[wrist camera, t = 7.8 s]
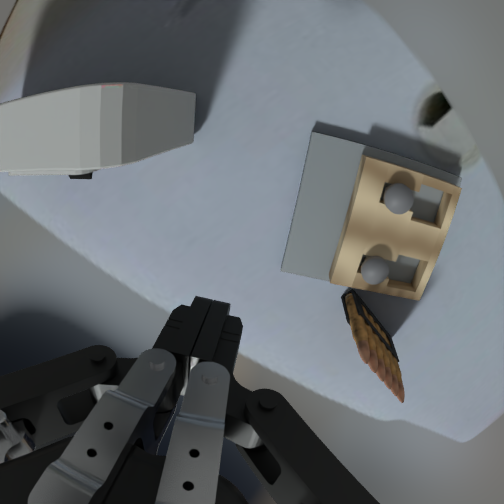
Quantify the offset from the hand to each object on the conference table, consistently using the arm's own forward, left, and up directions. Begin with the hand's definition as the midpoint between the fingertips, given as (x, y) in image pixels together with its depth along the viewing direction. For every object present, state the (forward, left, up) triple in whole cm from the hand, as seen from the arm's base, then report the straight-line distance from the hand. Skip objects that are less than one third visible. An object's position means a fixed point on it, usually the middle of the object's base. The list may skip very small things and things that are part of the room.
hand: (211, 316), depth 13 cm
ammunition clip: (+14, +17, -23) cm, 32 cm away
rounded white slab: (-5, -22, -23) cm, 33 cm away
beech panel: (+1, +15, -22) cm, 26 cm away
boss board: (+1, +13, -23) cm, 27 cm away
